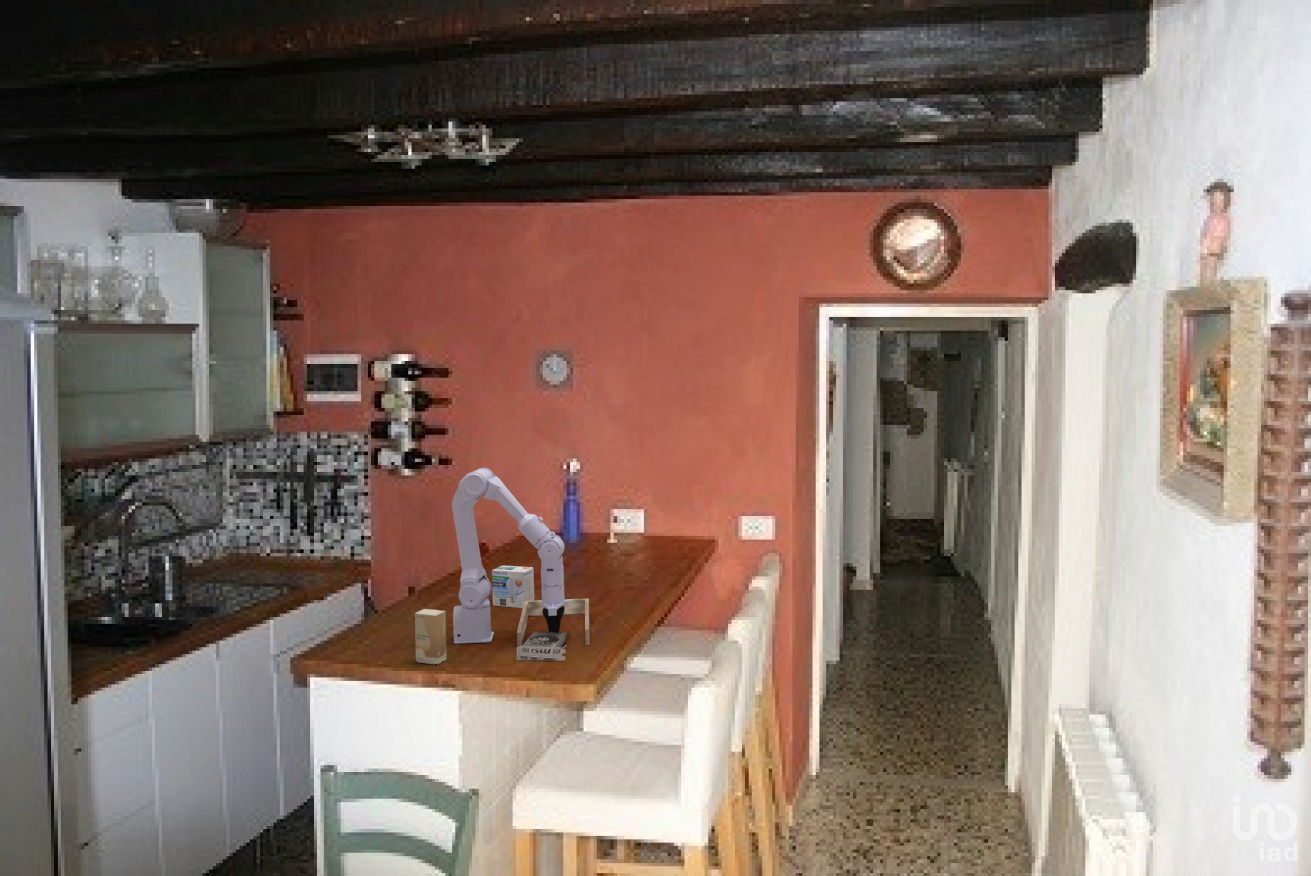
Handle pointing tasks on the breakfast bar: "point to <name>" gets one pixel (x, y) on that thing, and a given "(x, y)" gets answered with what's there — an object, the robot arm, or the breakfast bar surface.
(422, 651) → the skincare box
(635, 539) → the breakfast bar surface
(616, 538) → the breakfast bar surface
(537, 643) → the graphics card
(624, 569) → the breakfast bar surface
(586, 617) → the wooden frame
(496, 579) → the light bulb box
